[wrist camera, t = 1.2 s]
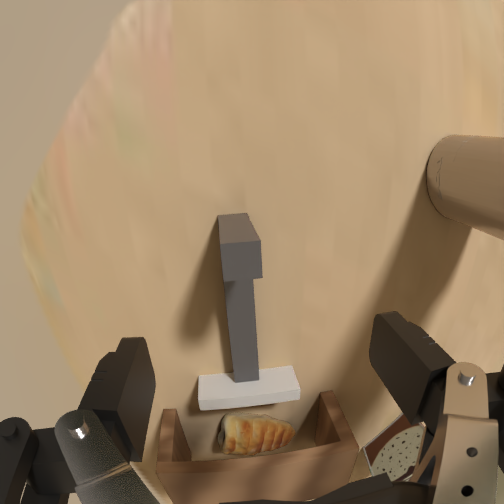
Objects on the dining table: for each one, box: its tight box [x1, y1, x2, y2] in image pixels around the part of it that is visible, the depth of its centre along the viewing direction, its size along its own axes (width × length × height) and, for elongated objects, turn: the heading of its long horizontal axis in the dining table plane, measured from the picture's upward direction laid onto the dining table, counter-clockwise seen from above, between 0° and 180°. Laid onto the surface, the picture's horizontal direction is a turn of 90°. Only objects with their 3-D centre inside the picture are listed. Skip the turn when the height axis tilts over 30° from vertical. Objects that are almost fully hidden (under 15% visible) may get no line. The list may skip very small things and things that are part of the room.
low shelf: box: [156, 390, 359, 504], centre depth 31 cm, size 20×10×10 cm, turn 94°
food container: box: [363, 413, 425, 481], centre depth 35 cm, size 12×6×10 cm, turn 143°
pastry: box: [218, 413, 296, 456], centre depth 34 cm, size 9×7×4 cm
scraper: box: [198, 213, 300, 411], centre depth 26 cm, size 10×18×9 cm, turn 4°
